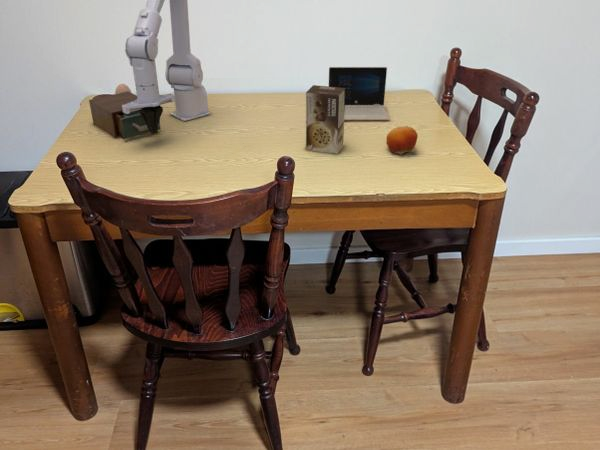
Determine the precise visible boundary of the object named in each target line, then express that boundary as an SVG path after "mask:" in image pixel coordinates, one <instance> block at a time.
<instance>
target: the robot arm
mask: <svg viewBox="0 0 600 450" xmlns="http://www.w3.org/2000/svg"><path fill="white" fill-rule="evenodd" d="M165 1H166V0H146V4H145V8H142V9H141V10H140V11H139V14H138V16H137V19H136V23H135V25H134V30H133V32H132V34H131V35H130V36H129V37H127V38H126V41H125V46H124V47H125V48H124V53H125V55H126V57H127V59H128V61H129V65H130V66H131V67H132V72H133V79H134V84H135V85H134V86H135V91H136V96H137V100H135V101H132V102H130V103H127V104H124V105H122V110H123V112H124V113H125V114H129V113H130V112H133V111H137V110H138V112H139V113H140V114H141V116H142V117H143V119H144V121H145V122H146V125H147V127H148V129H149V132H150V133H149V134H151V135H156V134H158V131H159V130H158V124H159V120H160V119H161V116H162V114H163V112H164V107H163V106H162V105H166V104H169V103H174V105H175V111H174V112H171V113H170V115H171V116H173V117H174V118H177V119H179V120H181V121H183V122H186V121H187V122H188V121H191V120H193V119H199V118H202V117H205V116H208V115H211V113H210V111H209V101H208V92H207V90H206V87H205V86H204V84H202V83H203V79H204V72H203V69H202V63H201V60H200V59H199V58H198V57H197V56H196V55H194V54H193V53H192V52H191V38H190V20H189V3H188V2H189V1H188V0H169V10H170V11H169V12H170V27H171V28H170V29H171V38H172V40H171V41H172V52H173V53H172V54H171V56H169V57H168V58H167V60H166V61H165V63H166V64H165V71H164V72H165V80H166V82H167V84H168V85H170V88H171V89H172V90H173V93H166V94H160V90H159V89H160V88H159V81H158V73H157V66H156V58H157V56H158V54H159V39H158V36H159V33H160V29H161V25H162V23H163V19H162V16H161V15H160V14H161V11H162V8H163V6H164V3H165Z"/></svg>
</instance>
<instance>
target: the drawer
mask: <svg viewBox="0 0 600 450" xmlns="http://www.w3.org/2000/svg"><path fill="white" fill-rule="evenodd" d="M122 113H124V112H122ZM122 113H118V114H114V118H115V124H116V129H117V132H118V133H119V134H121V135H122V136H121V137H122V139H124V140H128V139H132V138H135V137H138V136H142V135H146V134H151V133H150V132H149V129H148V127H147V125H146V122H145V121H144V119H143V117H142V116H141V114H136V115H132V116H128V117H124V118H123V115H122ZM161 129H162V128H161V121H160V120H159V124H158V131H160V130H161Z"/></svg>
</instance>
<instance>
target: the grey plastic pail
mask: <svg viewBox="0 0 600 450" xmlns="http://www.w3.org/2000/svg"><path fill="white" fill-rule="evenodd" d="M136 114H140V113H139V112H138V110H137V111H133V112H130V113H129V114H125V113H122V115H123V118H124V117H128V116H132V115H136Z"/></svg>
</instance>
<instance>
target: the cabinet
mask: <svg viewBox="0 0 600 450" xmlns="http://www.w3.org/2000/svg"><path fill="white" fill-rule="evenodd" d="M135 100H137V94H134V93H132V92H131V93H130V92H128V91H127V92H123V93H118V94H115V93H114V94H110V95H109V94H108V95H105V96H100V97H96V98H92V99H88V103H89V108H90V113H91V119H92V124H93V125H94V126H96V127H98V128H99V129H101V131H104V132H106V133H107V134H108V135H109V136H112V137H113V138H115V139H117V138H121V137H123V136H122V135H121V134H119V133H118V132H117V129H116V124H115V118H114V114H118V113H122V112H123V110H122V105H124V104H127V103H130V102H132V101H135Z"/></svg>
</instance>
